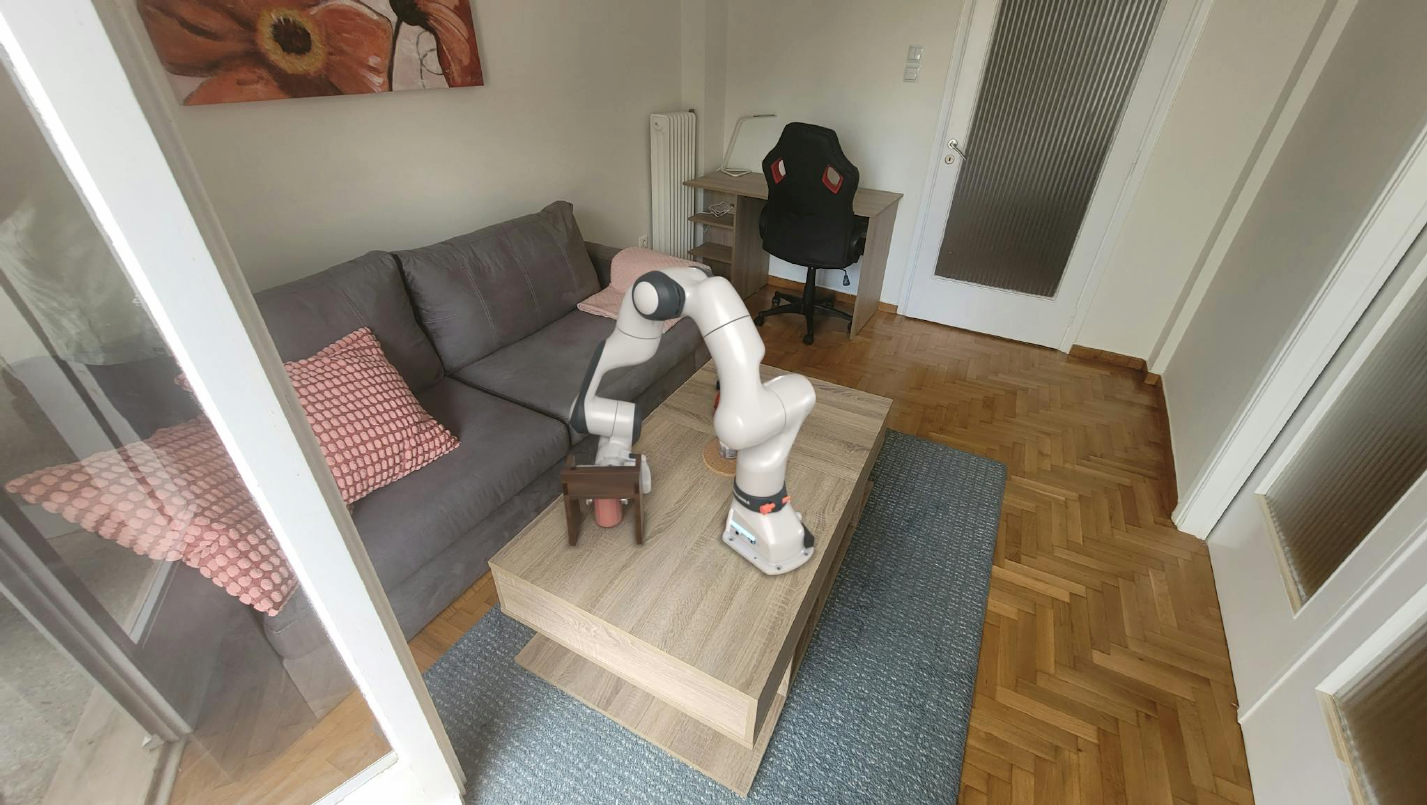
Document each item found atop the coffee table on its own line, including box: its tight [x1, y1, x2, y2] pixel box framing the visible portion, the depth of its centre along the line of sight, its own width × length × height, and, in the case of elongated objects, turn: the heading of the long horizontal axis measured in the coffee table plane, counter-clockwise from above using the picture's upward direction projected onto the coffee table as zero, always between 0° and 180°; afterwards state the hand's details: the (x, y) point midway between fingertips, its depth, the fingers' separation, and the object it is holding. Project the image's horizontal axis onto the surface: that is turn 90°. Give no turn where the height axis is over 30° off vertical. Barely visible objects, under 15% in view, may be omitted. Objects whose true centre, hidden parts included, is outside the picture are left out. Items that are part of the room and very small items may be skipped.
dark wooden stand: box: [559, 453, 645, 547], centre depth 133 cm, size 10×16×21 cm, turn 93°
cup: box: [592, 499, 624, 528], centre depth 138 cm, size 7×7×10 cm
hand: (607, 502), depth 137 cm, fingers closed on cup, 7 cm apart
